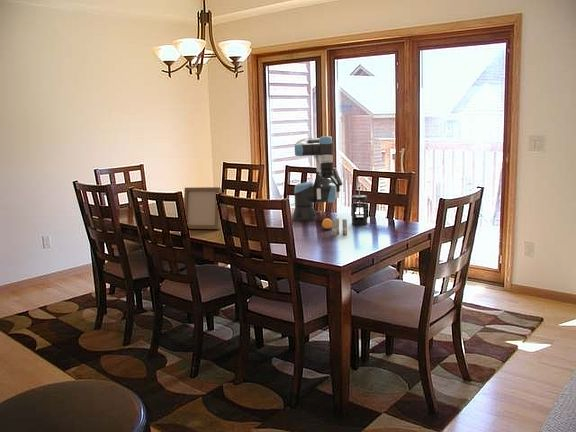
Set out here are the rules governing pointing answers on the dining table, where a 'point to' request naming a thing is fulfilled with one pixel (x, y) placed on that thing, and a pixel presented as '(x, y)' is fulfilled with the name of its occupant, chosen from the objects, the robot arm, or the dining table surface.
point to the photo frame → (202, 207)
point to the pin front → (337, 225)
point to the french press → (356, 205)
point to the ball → (327, 223)
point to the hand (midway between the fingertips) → (328, 198)
